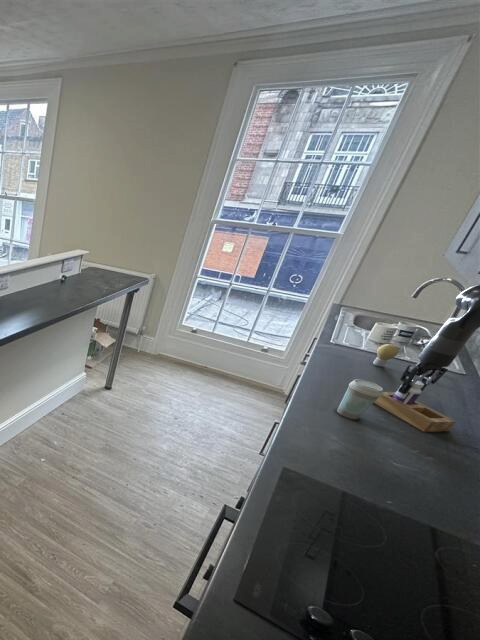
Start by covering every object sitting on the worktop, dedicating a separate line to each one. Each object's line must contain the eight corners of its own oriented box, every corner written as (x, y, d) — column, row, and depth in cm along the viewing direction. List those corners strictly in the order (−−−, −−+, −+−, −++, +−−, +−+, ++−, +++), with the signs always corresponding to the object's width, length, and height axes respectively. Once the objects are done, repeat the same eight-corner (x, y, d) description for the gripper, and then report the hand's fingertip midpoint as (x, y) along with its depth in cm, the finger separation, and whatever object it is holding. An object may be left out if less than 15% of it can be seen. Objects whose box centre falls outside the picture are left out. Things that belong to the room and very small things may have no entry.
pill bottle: (405, 404, 144) (424, 381, 139) (410, 411, 140) (429, 388, 135) (386, 399, 146) (404, 376, 141) (391, 406, 142) (408, 382, 137)
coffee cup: (327, 410, 139) (347, 380, 132) (339, 405, 142) (359, 376, 136) (356, 424, 132) (378, 393, 126) (368, 418, 136) (390, 389, 130)
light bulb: (369, 360, 180) (383, 340, 175) (388, 366, 176) (403, 346, 171) (367, 364, 176) (381, 343, 171) (385, 370, 172) (400, 349, 167)
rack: (392, 401, 148) (399, 392, 146) (447, 431, 133) (456, 421, 131) (370, 401, 147) (377, 392, 145) (423, 431, 132) (432, 422, 130)
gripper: (437, 354, 127) (403, 398, 136) (473, 355, 129) (436, 398, 138) (412, 344, 133) (380, 387, 142) (446, 344, 135) (413, 387, 144)
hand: (408, 392), depth 140 cm, fingers closed on pill bottle, 5 cm apart
